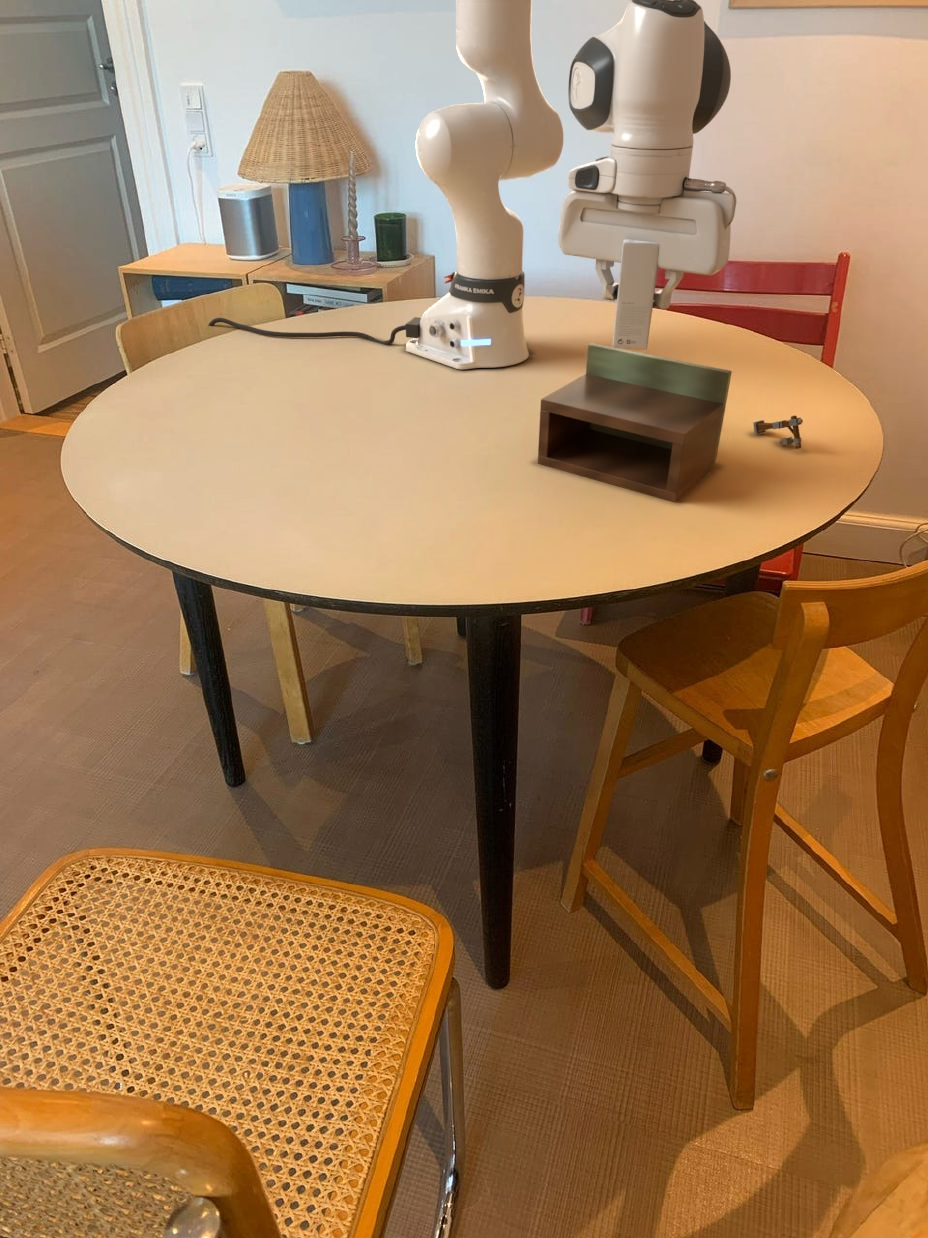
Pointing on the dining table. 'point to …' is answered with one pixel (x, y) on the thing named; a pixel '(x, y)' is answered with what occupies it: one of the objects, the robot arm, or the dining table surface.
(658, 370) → the shelf
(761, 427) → the wooden post with brackets
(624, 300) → the cosmetic box
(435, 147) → the robot arm
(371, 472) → the dining table surface
